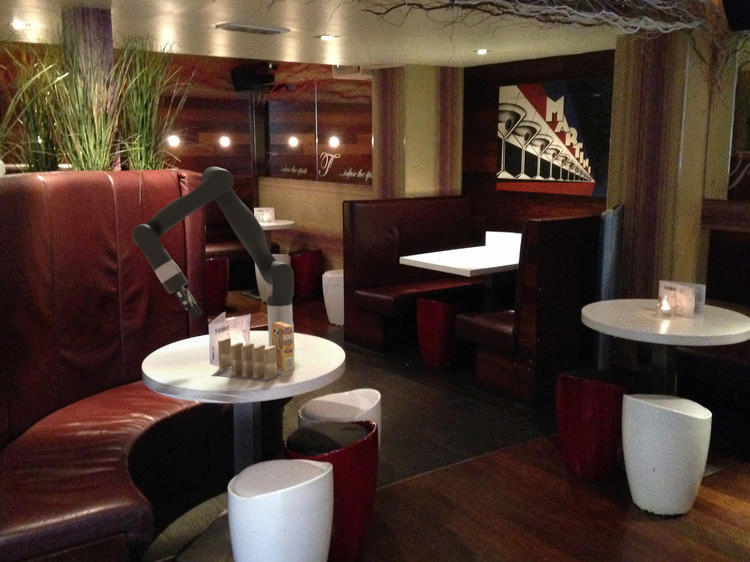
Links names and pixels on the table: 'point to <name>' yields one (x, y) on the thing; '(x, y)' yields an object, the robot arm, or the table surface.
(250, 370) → the domino
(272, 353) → the domino
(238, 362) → the domino
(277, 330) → the candy box
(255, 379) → the mat
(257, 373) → the domino
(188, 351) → the table surface
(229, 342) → the domino
